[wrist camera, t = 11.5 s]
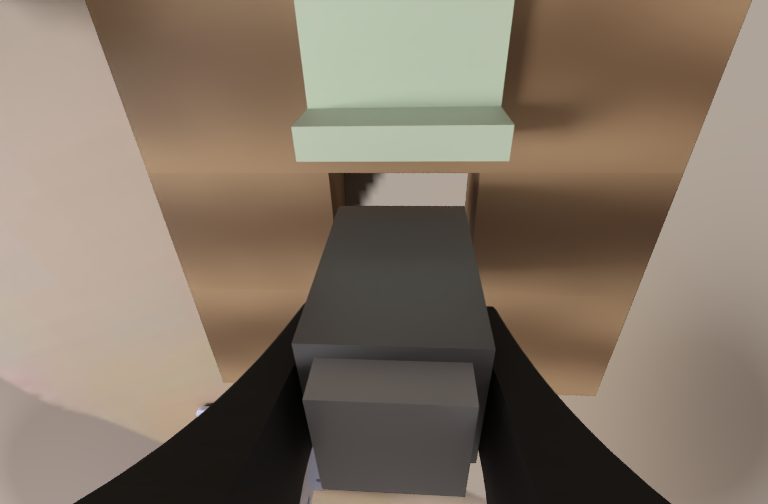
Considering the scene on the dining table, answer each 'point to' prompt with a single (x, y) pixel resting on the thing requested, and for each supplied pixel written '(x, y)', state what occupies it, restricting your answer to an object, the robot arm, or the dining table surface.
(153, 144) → the socket board
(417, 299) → the plug
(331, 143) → the pale green notched block
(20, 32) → the dining table surface
